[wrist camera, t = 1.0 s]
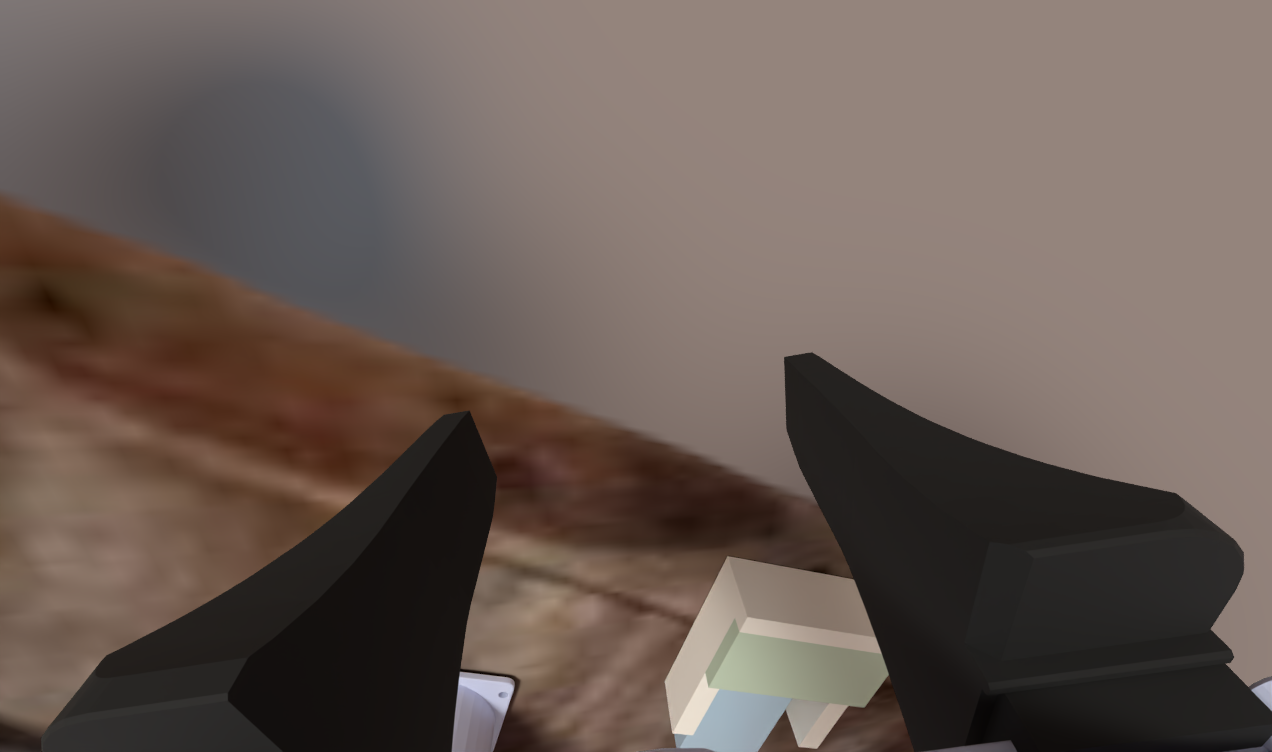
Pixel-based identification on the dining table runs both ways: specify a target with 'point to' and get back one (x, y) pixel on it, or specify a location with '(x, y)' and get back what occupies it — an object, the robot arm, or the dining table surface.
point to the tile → (735, 722)
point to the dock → (778, 647)
